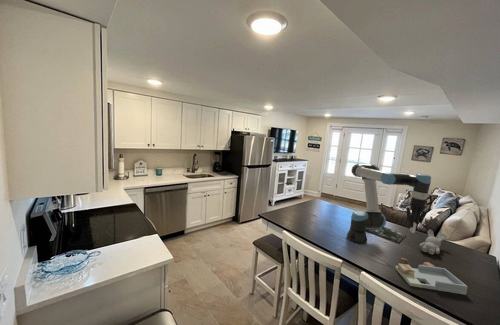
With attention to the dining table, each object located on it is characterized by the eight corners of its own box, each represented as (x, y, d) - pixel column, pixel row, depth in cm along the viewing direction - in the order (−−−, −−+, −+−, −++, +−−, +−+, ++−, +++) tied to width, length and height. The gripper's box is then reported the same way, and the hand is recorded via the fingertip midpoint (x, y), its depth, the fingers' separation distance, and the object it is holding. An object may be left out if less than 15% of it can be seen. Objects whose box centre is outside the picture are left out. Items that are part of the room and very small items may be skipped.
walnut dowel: (401, 267, 133) (402, 260, 132) (398, 264, 137) (399, 257, 136) (408, 268, 132) (409, 261, 132) (404, 265, 136) (406, 258, 136)
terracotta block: (428, 271, 130) (429, 266, 130) (422, 268, 134) (423, 262, 134) (433, 271, 131) (434, 265, 131) (427, 267, 135) (428, 262, 135)
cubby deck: (410, 285, 116) (411, 277, 115) (395, 268, 132) (396, 261, 131) (465, 294, 112) (467, 286, 111) (443, 275, 127) (444, 268, 127)
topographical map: (398, 244, 166) (399, 240, 166) (357, 228, 191) (357, 225, 190) (406, 235, 183) (407, 232, 183) (367, 222, 208) (368, 219, 207)
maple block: (403, 273, 123) (403, 269, 123) (397, 267, 129) (398, 263, 129) (414, 275, 123) (414, 270, 122) (408, 269, 128) (408, 264, 128)
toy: (437, 261, 148) (445, 245, 166) (439, 249, 146) (447, 234, 164) (416, 253, 157) (426, 238, 175) (418, 242, 155) (428, 228, 173)
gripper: (411, 198, 127) (404, 233, 131) (434, 201, 125) (427, 236, 129) (404, 195, 135) (398, 227, 138) (426, 197, 132) (419, 230, 136)
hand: (412, 232), depth 134 cm, fingers closed
